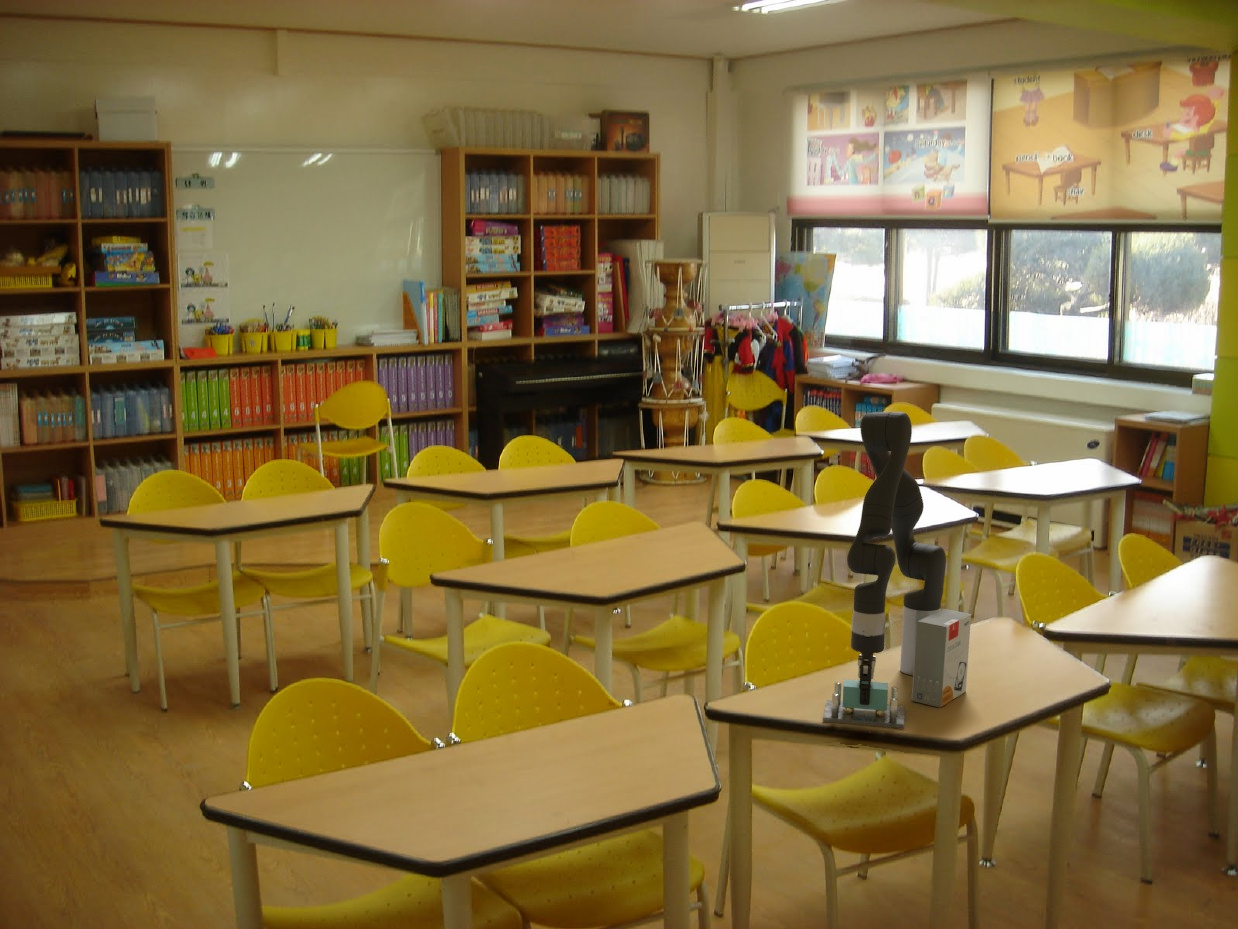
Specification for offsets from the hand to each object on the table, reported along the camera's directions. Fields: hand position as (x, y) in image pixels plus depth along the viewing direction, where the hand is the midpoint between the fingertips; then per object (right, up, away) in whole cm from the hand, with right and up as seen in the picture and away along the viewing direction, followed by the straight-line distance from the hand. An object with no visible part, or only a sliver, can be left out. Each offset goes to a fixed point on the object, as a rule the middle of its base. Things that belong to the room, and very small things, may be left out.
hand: (865, 699), depth 301 cm
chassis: (0, -4, +1) cm, 4 cm away
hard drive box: (+21, -2, +14) cm, 25 cm away
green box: (0, -1, 0) cm, 2 cm away
